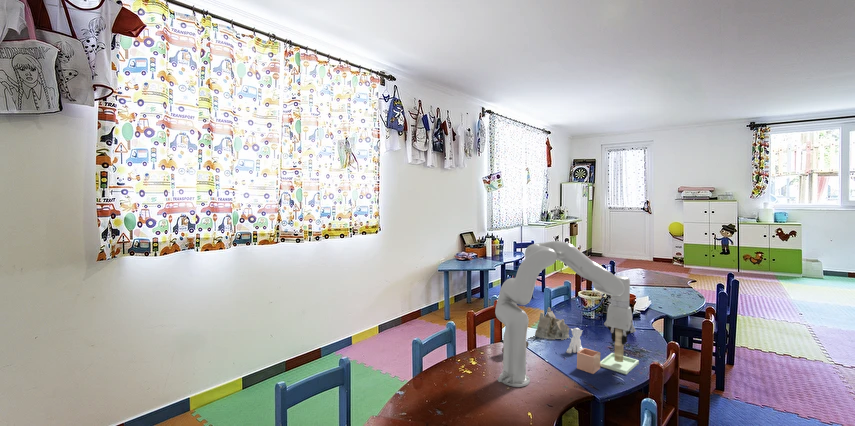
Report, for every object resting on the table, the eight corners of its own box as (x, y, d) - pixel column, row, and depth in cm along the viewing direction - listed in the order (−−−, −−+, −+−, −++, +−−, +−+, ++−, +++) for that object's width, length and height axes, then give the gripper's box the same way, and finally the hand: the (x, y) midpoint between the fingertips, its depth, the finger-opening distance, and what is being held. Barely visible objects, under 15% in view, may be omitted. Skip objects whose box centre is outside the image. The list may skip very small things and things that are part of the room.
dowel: (621, 362, 173) (622, 330, 173) (613, 360, 176) (613, 328, 175) (624, 360, 176) (625, 328, 175) (616, 358, 178) (616, 326, 178)
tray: (626, 375, 166) (626, 371, 166) (598, 367, 175) (598, 362, 175) (638, 364, 177) (638, 360, 177) (611, 356, 186) (612, 352, 186)
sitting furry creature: (566, 354, 189) (566, 330, 188) (564, 347, 197) (564, 324, 196) (587, 356, 186) (587, 332, 186) (584, 349, 195) (584, 326, 194)
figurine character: (518, 349, 198) (498, 354, 189) (519, 335, 198) (499, 338, 189) (528, 354, 193) (508, 358, 184) (529, 339, 193) (509, 342, 184)
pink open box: (593, 375, 167) (593, 357, 166) (576, 369, 172) (577, 352, 172) (600, 369, 172) (600, 352, 172) (584, 364, 177) (584, 347, 177)
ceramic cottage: (530, 333, 216) (533, 308, 215) (551, 329, 224) (553, 304, 223) (551, 344, 203) (554, 317, 202) (572, 340, 211) (575, 313, 210)
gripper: (598, 301, 178) (597, 339, 179) (637, 308, 166) (635, 350, 167) (604, 298, 183) (603, 335, 184) (642, 305, 171) (641, 345, 172)
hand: (619, 342), depth 175 cm, fingers closed on dowel, 3 cm apart
